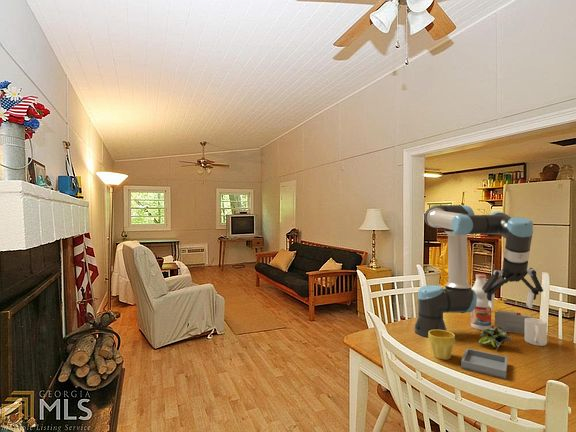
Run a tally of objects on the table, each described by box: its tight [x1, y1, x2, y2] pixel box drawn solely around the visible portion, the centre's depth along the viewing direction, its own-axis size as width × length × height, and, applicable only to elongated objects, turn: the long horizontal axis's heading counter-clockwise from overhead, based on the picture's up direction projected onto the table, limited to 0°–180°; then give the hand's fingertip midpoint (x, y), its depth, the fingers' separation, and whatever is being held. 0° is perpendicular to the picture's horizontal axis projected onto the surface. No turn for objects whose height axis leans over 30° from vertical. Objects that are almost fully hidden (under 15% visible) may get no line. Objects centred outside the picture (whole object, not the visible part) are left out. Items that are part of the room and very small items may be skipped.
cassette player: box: [494, 310, 534, 335], centre depth 167 cm, size 16×3×10 cm, turn 63°
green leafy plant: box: [478, 325, 513, 351], centre depth 148 cm, size 11×11×12 cm
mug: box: [524, 317, 548, 347], centre depth 151 cm, size 12×8×10 cm
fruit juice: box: [470, 273, 492, 331], centre depth 173 cm, size 9×9×28 cm
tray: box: [460, 347, 509, 380], centre depth 130 cm, size 15×15×3 cm
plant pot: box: [427, 330, 456, 360], centre depth 139 cm, size 10×10×10 cm
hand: (509, 306), depth 129 cm, fingers open, 13 cm apart
